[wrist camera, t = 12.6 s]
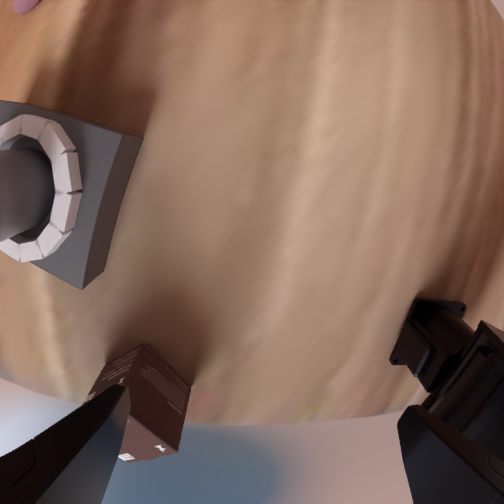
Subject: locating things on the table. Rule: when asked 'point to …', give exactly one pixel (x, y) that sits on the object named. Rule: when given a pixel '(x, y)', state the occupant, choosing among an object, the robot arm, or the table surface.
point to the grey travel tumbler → (24, 190)
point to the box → (147, 403)
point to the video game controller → (24, 5)
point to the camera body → (71, 189)
